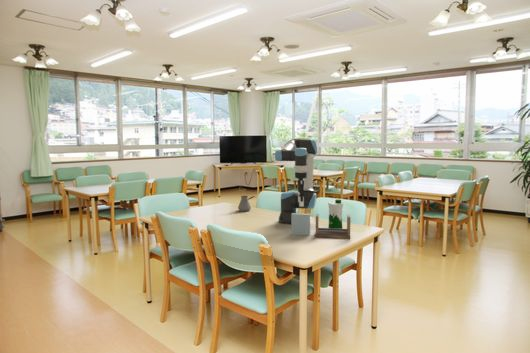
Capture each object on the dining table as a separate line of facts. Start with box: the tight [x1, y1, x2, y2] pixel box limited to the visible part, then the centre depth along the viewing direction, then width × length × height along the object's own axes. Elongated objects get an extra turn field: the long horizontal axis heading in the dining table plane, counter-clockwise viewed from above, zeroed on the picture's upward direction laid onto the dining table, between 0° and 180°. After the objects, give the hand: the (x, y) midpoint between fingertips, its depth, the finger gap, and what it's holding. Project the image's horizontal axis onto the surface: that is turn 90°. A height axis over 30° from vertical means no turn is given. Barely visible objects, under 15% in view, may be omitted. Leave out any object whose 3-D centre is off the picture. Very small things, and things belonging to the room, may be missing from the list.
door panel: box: [291, 212, 311, 236], centre depth 242 cm, size 3×12×14 cm, turn 80°
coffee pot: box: [237, 195, 256, 213], centre depth 315 cm, size 21×12×15 cm, turn 37°
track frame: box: [314, 213, 351, 240], centre depth 239 cm, size 12×22×14 cm, turn 80°
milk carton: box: [328, 199, 344, 229], centre depth 258 cm, size 9×9×20 cm
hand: (300, 204), depth 238 cm, fingers open, 13 cm apart
